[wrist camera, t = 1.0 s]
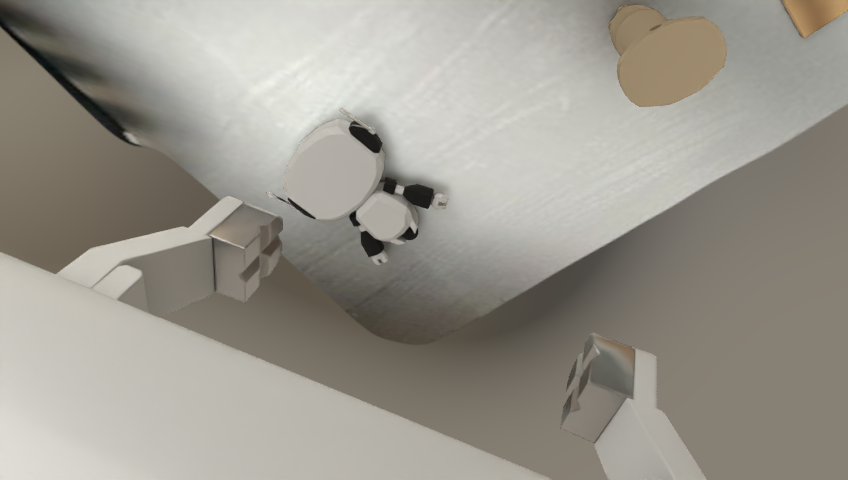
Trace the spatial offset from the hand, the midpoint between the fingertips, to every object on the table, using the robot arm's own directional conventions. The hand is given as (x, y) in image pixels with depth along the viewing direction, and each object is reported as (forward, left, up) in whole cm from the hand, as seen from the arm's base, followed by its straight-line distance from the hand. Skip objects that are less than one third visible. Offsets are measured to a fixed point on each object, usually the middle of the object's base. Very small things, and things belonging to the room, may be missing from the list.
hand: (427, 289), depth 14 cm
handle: (+2, +13, -42) cm, 44 cm away
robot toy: (+16, -12, -42) cm, 47 cm away
